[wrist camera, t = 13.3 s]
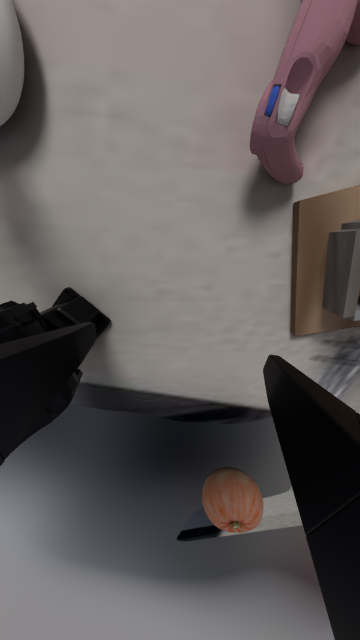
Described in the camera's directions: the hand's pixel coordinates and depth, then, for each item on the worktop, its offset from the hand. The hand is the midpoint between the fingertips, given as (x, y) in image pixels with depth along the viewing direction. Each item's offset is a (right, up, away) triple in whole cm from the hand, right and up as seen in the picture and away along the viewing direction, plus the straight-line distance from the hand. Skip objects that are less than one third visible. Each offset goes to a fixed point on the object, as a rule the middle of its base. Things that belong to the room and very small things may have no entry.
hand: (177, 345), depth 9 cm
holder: (+19, +7, +9) cm, 23 cm away
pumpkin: (+10, -30, +27) cm, 41 cm away
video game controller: (+9, +18, +5) cm, 21 cm away
